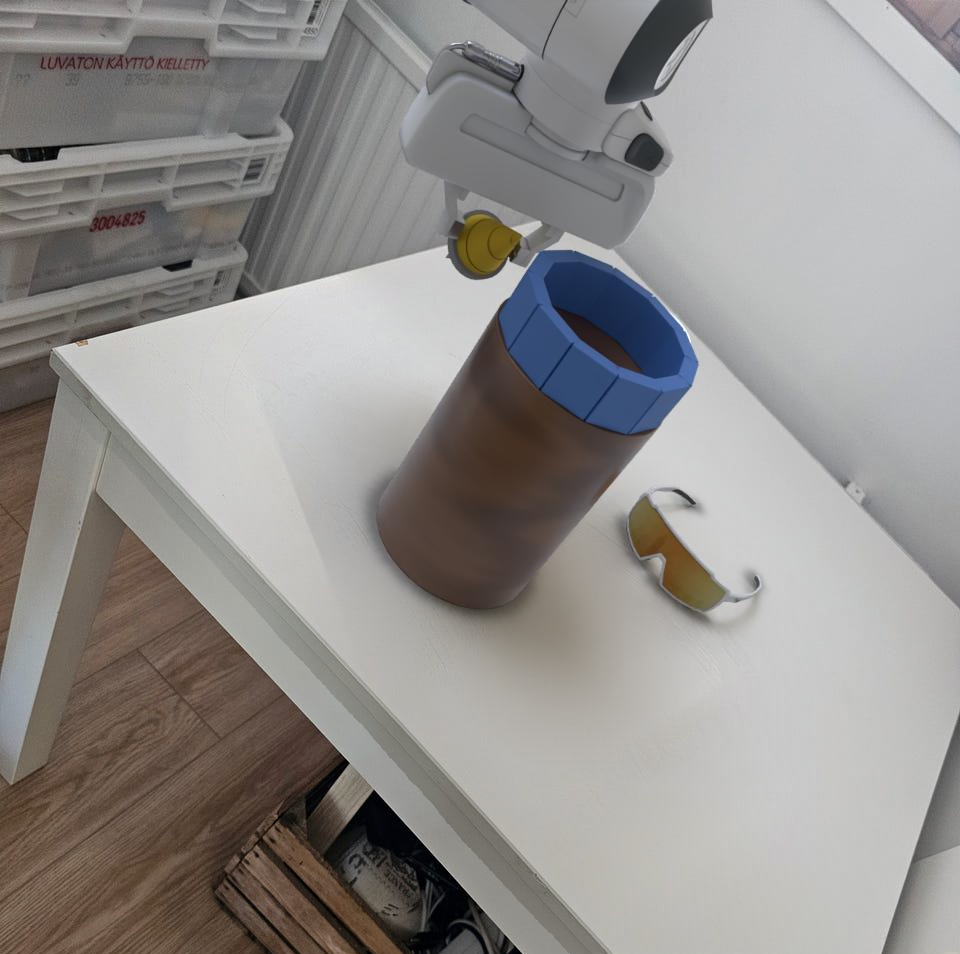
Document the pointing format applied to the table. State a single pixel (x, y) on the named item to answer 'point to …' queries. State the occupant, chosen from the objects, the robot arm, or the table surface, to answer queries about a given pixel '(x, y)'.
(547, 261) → the blue segmented ring
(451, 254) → the yellow tiered cone
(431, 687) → the table surface
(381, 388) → the table surface
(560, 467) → the stand
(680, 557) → the sunglasses
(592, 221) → the robot arm
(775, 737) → the table surface
